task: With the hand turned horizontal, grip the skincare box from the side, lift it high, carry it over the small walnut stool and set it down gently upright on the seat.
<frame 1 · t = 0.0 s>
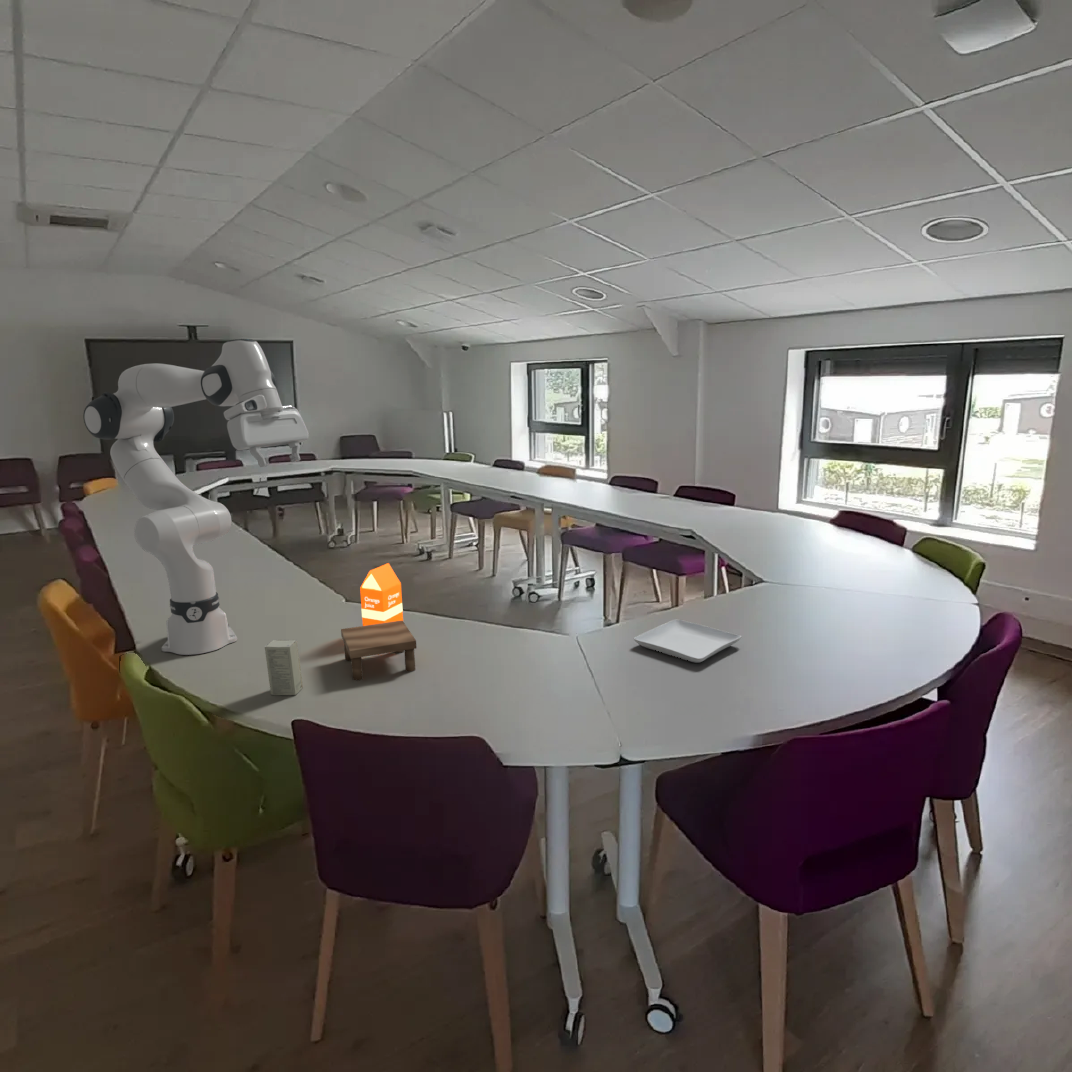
hand: (281, 463, 165), 52 cm above the table, tool tilted 20°, fingers open, 8 cm apart
walnut stool: (379, 664, 180), on the table
salad plate: (686, 648, 189), on the table
skincare box: (286, 692, 165), on the table
orange juice: (383, 634, 201), on the table
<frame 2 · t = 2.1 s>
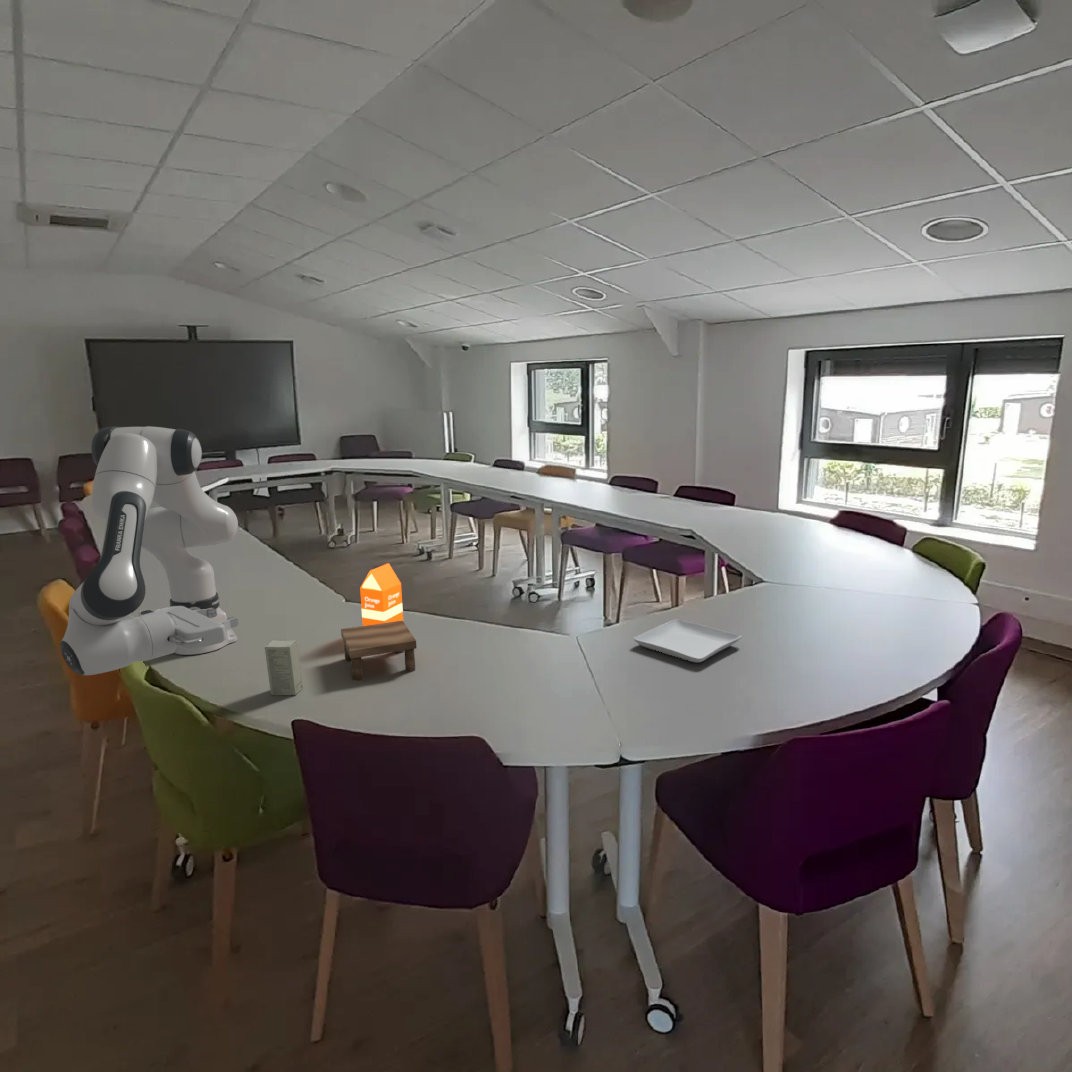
hand: (225, 616, 151), 22 cm above the table, tool horizontal, fingers open, 8 cm apart
nothing on the table moved.
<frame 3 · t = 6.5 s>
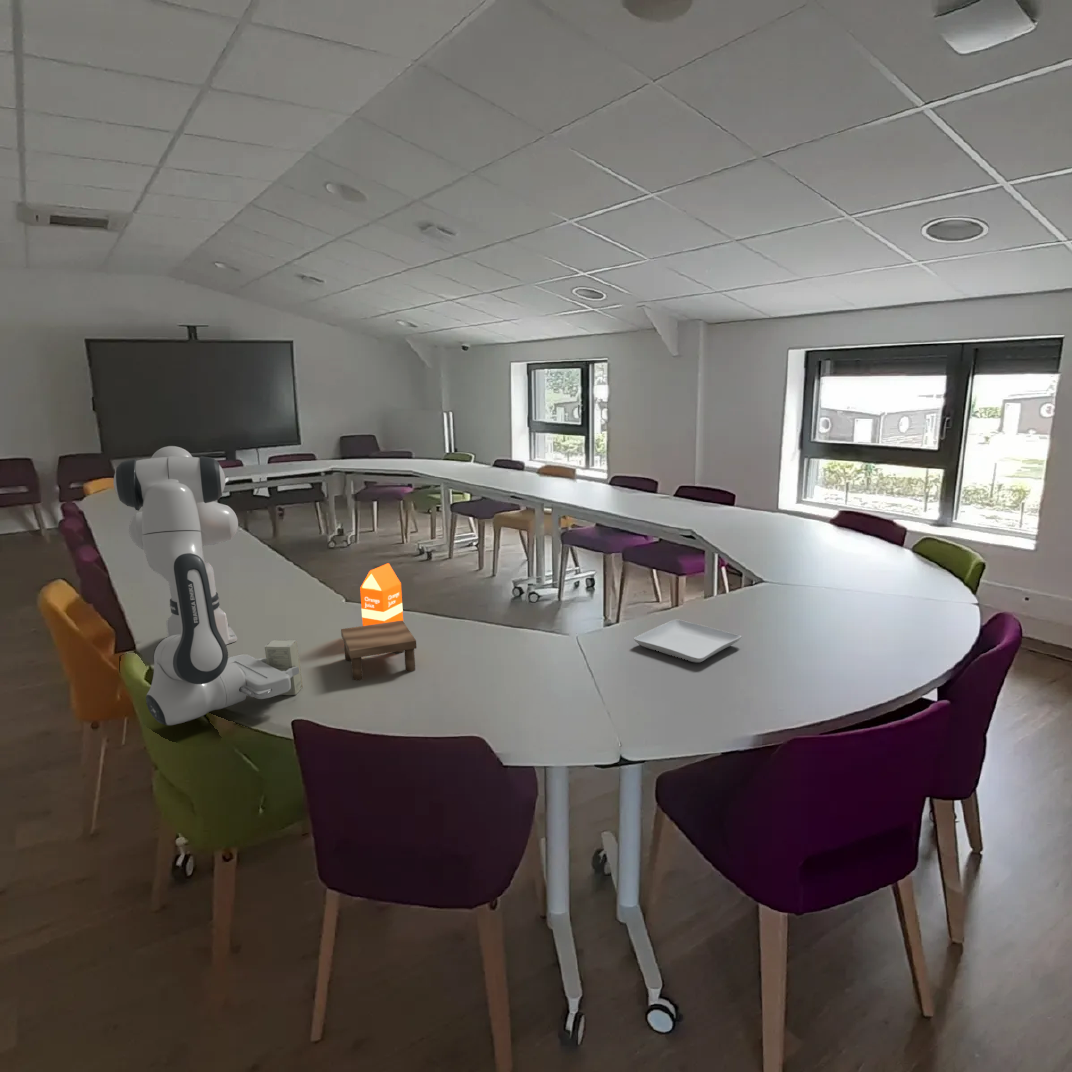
hand: (287, 664, 164), 7 cm above the table, tool horizontal, fingers closed on skincare box, 7 cm apart
skincare box: (286, 692, 165), on the table, touching gripper
everything else where it was.
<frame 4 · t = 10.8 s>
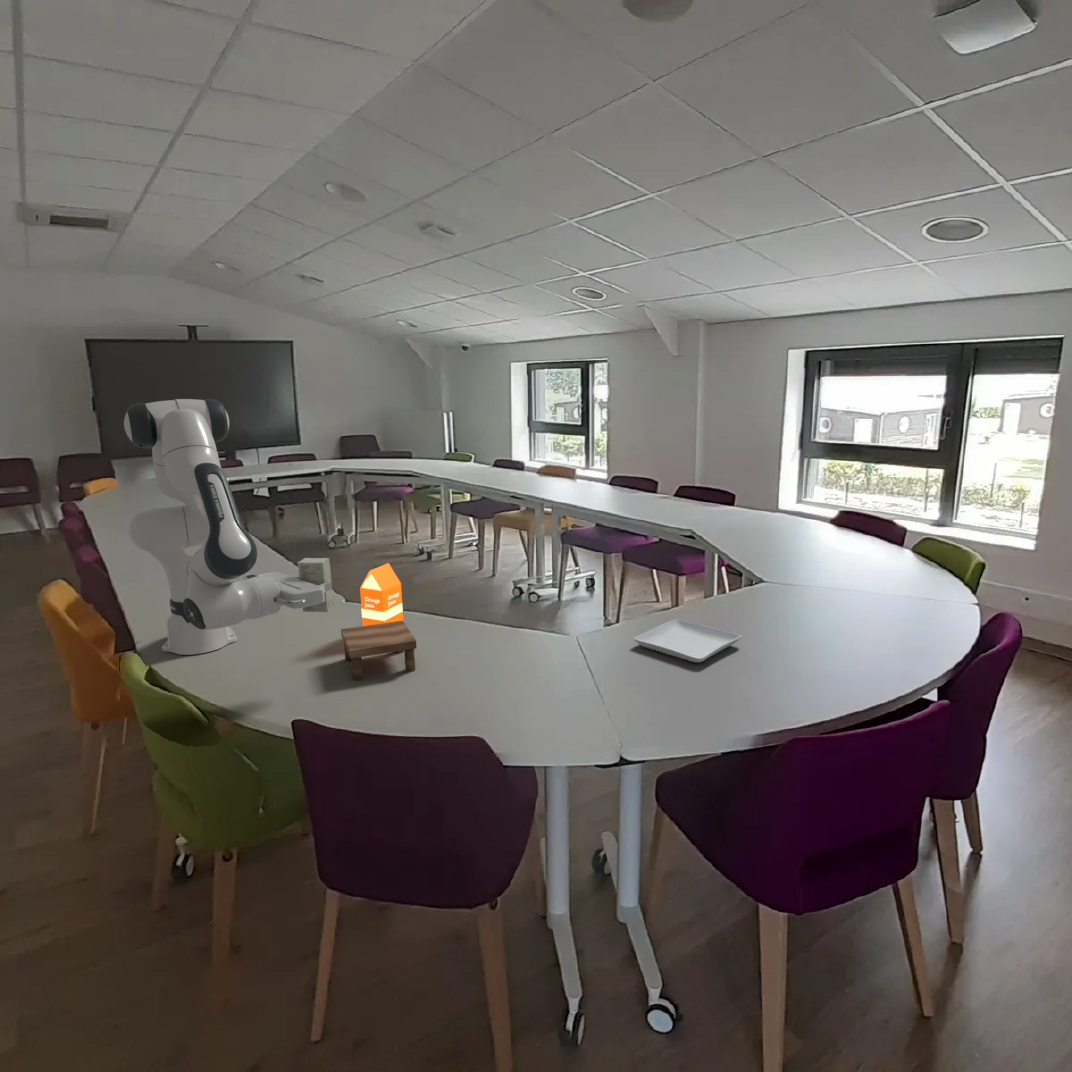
hand: (319, 581, 166), 25 cm above the table, tool horizontal, fingers closed on skincare box, 7 cm apart
skincare box: (318, 610, 167), point 18 cm above the table, touching gripper
everything else where it was.
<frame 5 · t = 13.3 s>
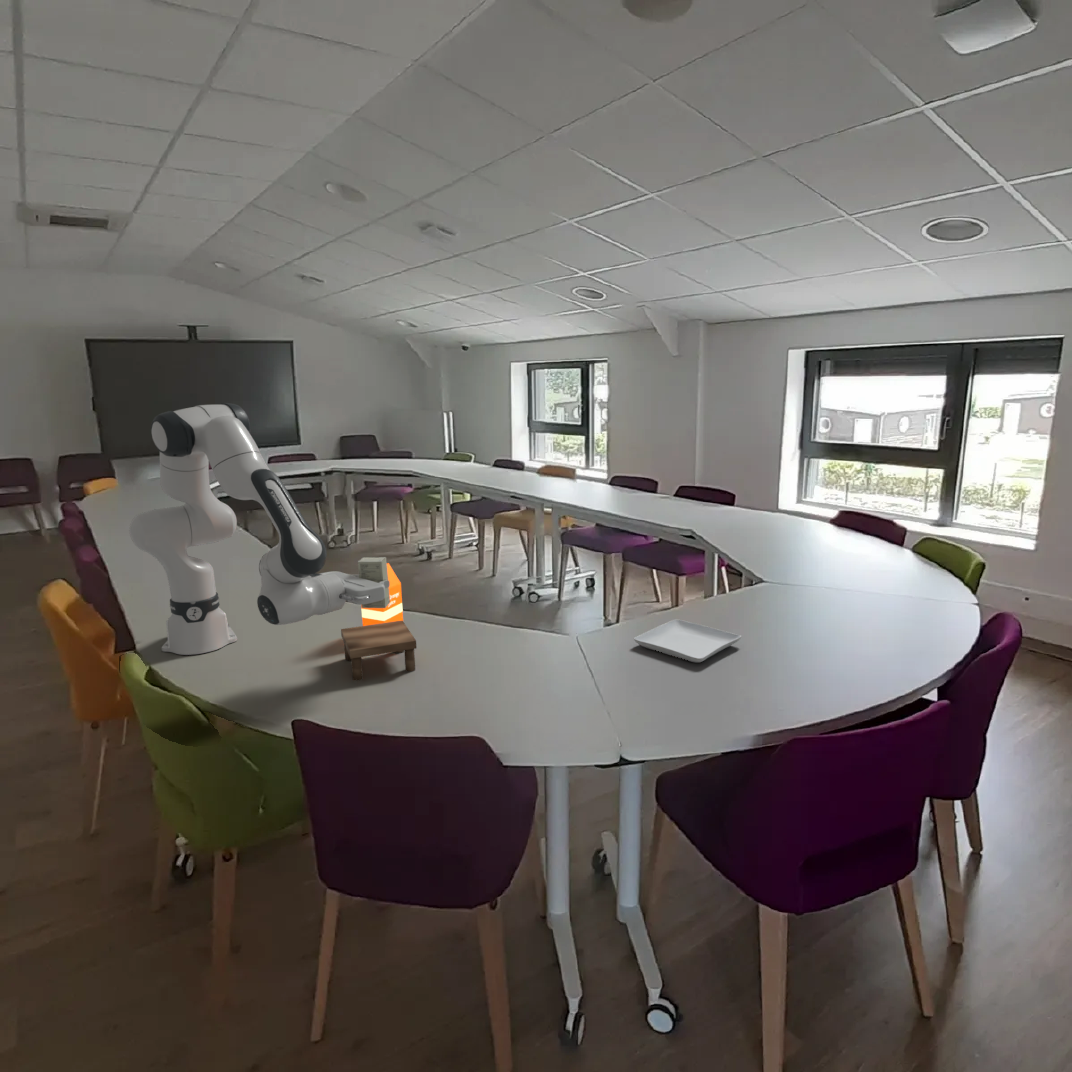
hand: (376, 579, 176), 22 cm above the table, tool horizontal, fingers closed on skincare box, 7 cm apart
skincare box: (375, 606, 176), point 16 cm above the table, touching gripper
everything else where it was.
when the fingers open (16 cm above the table, at t = 15.2 s): skincare box drops 1 cm, resting on walnut stool.
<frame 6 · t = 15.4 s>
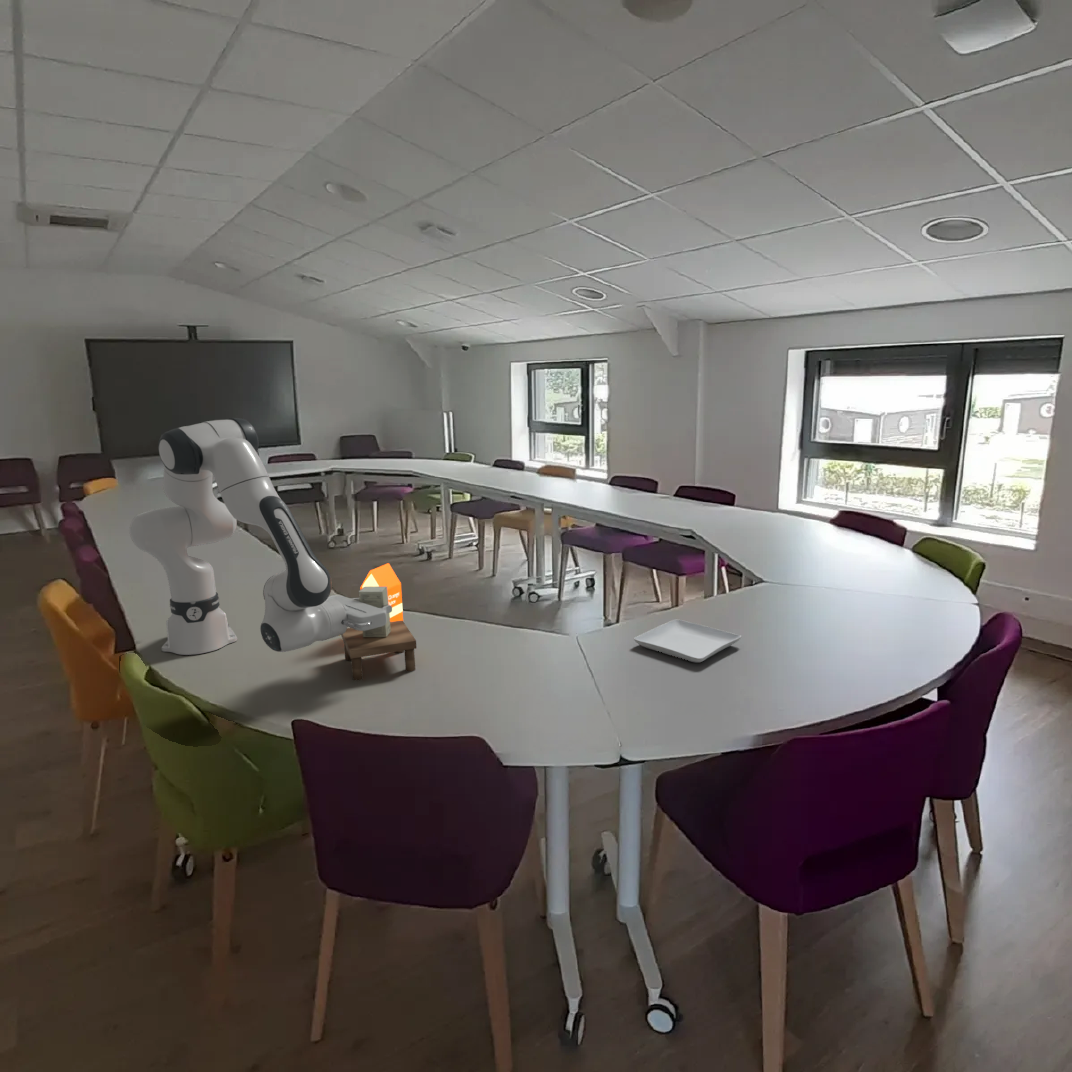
hand: (378, 604, 177), 16 cm above the table, tool horizontal, fingers open, 8 cm apart
skincare box: (376, 635, 179), point 8 cm above the table, touching walnut stool
everything else where it was.
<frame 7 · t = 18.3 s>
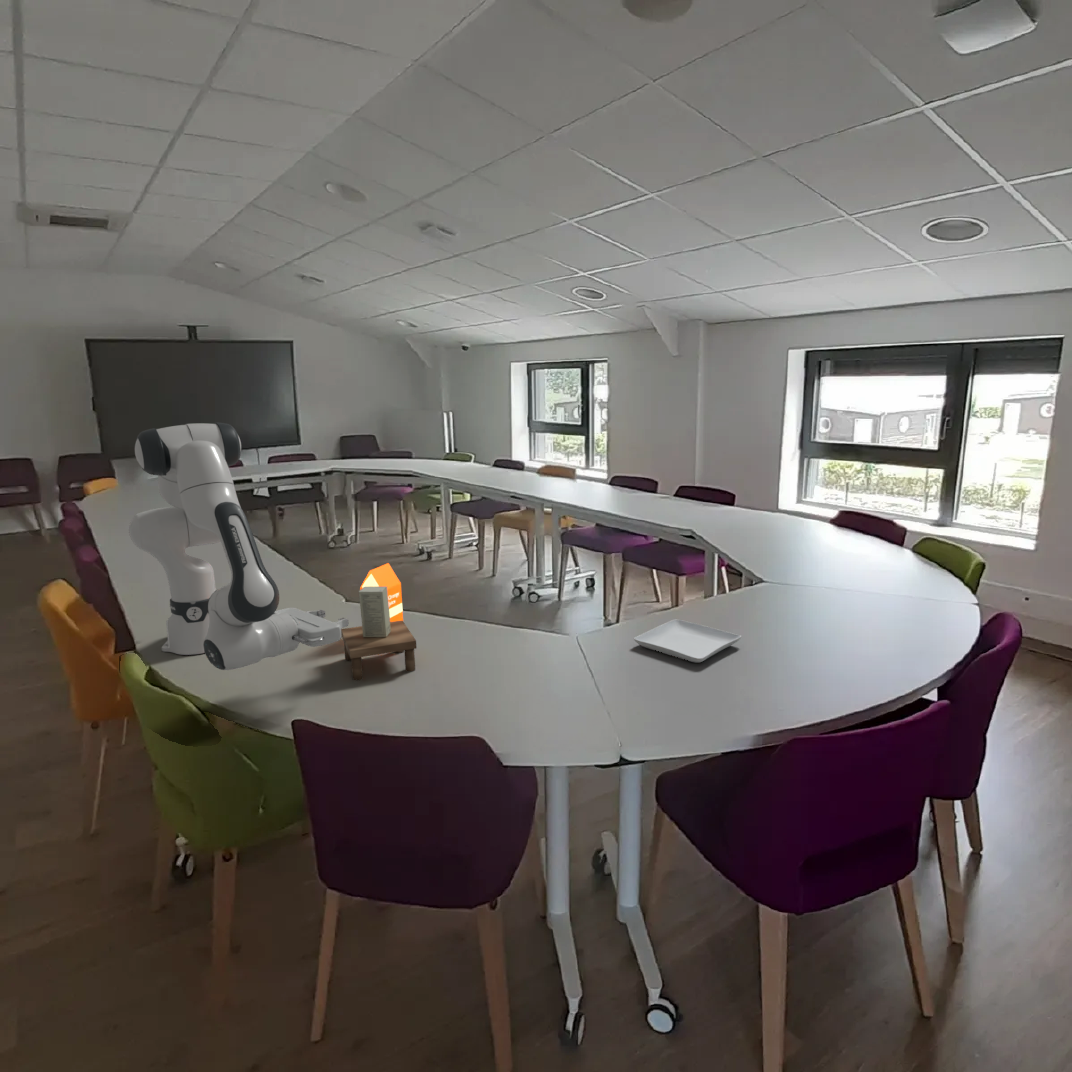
hand: (335, 617, 168), 16 cm above the table, tool horizontal, fingers open, 8 cm apart
nothing on the table moved.
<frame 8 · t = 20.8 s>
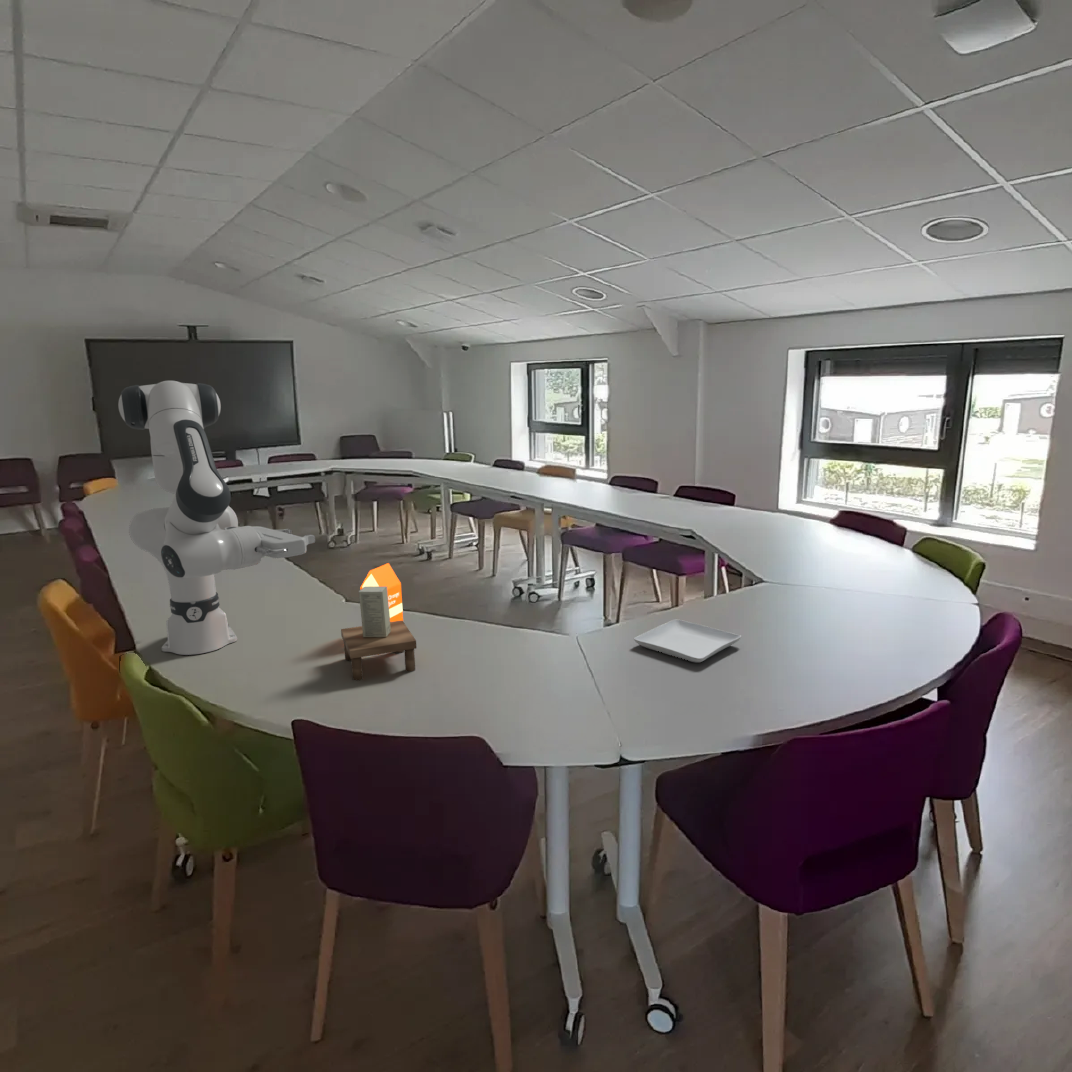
hand: (301, 535, 164), 36 cm above the table, tool horizontal, fingers open, 8 cm apart
nothing on the table moved.
at the end: skincare box inside the target area on the walnut stool (0.3 cm from its centre), point 7.8 cm above the walnut stool's base; skincare box tilted 0°; the gripper is holding nothing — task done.
